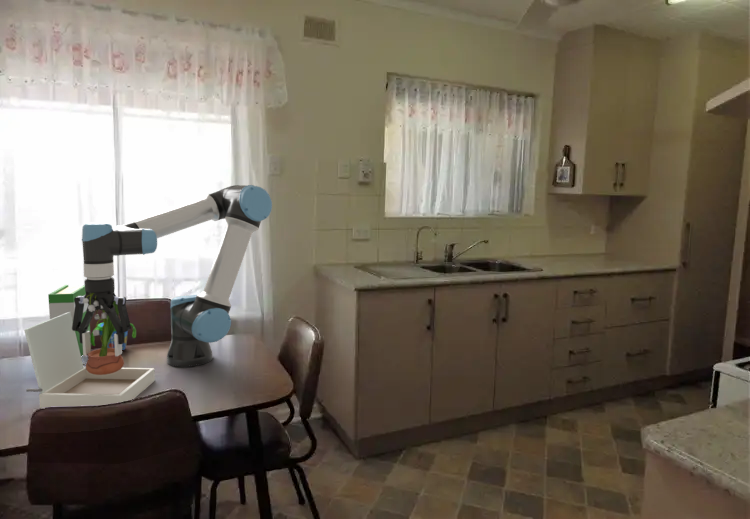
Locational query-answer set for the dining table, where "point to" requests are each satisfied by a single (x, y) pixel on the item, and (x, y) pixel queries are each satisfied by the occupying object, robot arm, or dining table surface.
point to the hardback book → (67, 305)
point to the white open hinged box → (76, 370)
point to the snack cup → (111, 342)
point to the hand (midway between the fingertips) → (102, 354)
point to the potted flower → (103, 345)
